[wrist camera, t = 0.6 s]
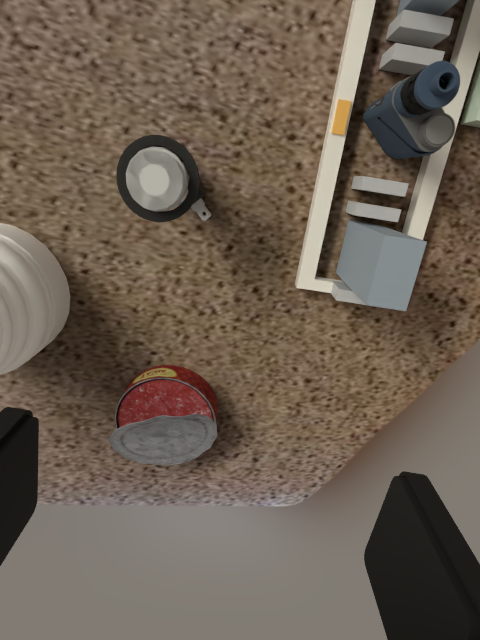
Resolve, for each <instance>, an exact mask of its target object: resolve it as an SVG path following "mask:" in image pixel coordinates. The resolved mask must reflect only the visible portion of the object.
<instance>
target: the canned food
mask: <svg viewBox="0 0 480 640" xmlns="http://www.w3.org/2000/svg"><path fill="white" fill-rule="evenodd" d="M216 420H217V401H216V397H215V394H214V392H213V390H212V388H211V387H210V386H209V384H208V383H207V382H206V381H205V380H204V379H203V378H202V377H201V376H200V375H198V374H196V373H195V372H193V371H191V370H189V369H186V368H184V367H179V366H174V365H161V366H155V367H152V368H149V369H146V370H145V371H143V372H141V373H140V374H138V375H137V376H136V377H135V378H134V379H133V380H132V381H131V382H130V384H129V385H128V387H127V389H126V391H125V392H124V394H123V396H122V397H121V399H120V400H119V403H118V405H117V408H116V413H115V423H116V428H117V429H116V430H114V432H113V433H112V435H111V437H110V438H109V441H110V443H111V445H112V447H113V450H115V451H117V452H118V453H120V454H121V455H122V456H123V457H125V458H127V459H131V460H134V461H137V462H139V463H142V464H155V465H175V464H181V463H185V462H188V461H191V460H192V459H194V458H196V457H198V456H200V455H201V454H202V453H203V452H205V451H206V450H208V449H209V448H211V446H212V444H213V442H214V440H215V439H216V437H217V424H216Z"/></svg>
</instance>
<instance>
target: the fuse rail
mask: <svg viewBox="0 0 480 640" xmlns="http://www.w3.org/2000/svg"><path fill="white" fill-rule="evenodd" d="M458 1H459V0H400V4H399V8H398V13H397V17H396V18H395V19H394V20H393V21H392V22H391V23H390V25H389V28H388V33H387V37H386V40H389V41H394V42H400V43H405V44H411V45H417V46H422V47H428V48H432V47H434V46H435V45H436V44H438V43H439V42H441V41H442V40H443V39H445V38H446V37H448V36H449V35H450V32H451V28H452V24H453V21H454V18H449V17H443V16H441V15H443V14H444V13H445V12H446V11H447V10H449V9H450V8H451V7H452V6H453V5H455V4H456V3H457V2H458ZM375 2H376V0H353V3H352V7H351V12H350V17H349V22H348V27H347V32H346V37H345V42H344V47H343V51H342V56H341V61H340V66H339V71H338V76H337V81H336V86H335V91H334V96H333V100H332V105H331V110H330V115H329V120H328V125H327V130H326V135H325V140H324V145H323V149H322V154H321V159H320V164H319V169H318V174H317V179H316V184H315V189H314V193H313V198H312V203H311V208H310V213H309V218H308V223H307V228H306V233H305V238H304V242H303V247H302V252H301V257H300V262H299V267H298V272H297V277H296V282H295V285H296V287H297V288H301V289H307V290H314V291H320V292H327V293H331V294H332V296H333V297H334V298H335V300H337V301H343V302H350V303H356V304H363V305H368V306H375V307H381V308H388V309H394V310H401V311H406V310H407V306H408V303H409V300H410V296H411V293H412V290H413V287H414V283H415V280H416V277H417V273H418V270H419V267H420V263H421V260H422V257H423V254H424V250H425V247H426V244H427V242H426V241H423V238H424V234H425V231H426V228H427V224H428V221H429V218H430V214H431V211H432V208H433V204H434V201H435V198H436V194H437V191H438V188H439V184H440V181H441V178H442V174H443V171H444V168H445V164H446V161H447V158H448V154H449V151H450V148H451V144H452V141H453V138H454V135H453V137H452V138H451V140H450V141H449V142H448V143H447V144H445V145H444V146H443V147H442V148H441V149H440V150H438V151H436V152H435V153H433V154H430V155H427V156H423V159H422V163H421V166H420V170H419V173H418V177H417V180H416V184H415V187H414V191H413V195H412V198H411V202H410V205H409V209H408V212H407V216H406V219H405V223H404V227H403V230H402V233H401V232H398V231H395V230H392V229H389V228H387V227H384V226H381V225H376V224H370V223H364V222H358V221H352V220H348V224H347V229H346V233H345V237H344V241H343V245H342V250H341V254H340V258H339V262H338V267H337V271H336V274H337V275H338V276H339V277H340V278H341V279H342V280H343V281H342V280H335V279H329V278H322V277H316V276H315V275H316V270H317V266H318V261H319V257H320V252H321V248H322V243H323V239H324V234H325V229H326V225H327V220H328V216H329V211H330V207H331V202H332V198H333V193H334V188H335V184H336V179H337V175H338V170H339V166H340V161H341V157H342V152H343V147H344V143H345V138H346V134H347V129H348V125H349V120H350V116H351V111H352V107H353V102H354V97H355V93H356V88H357V84H358V79H359V75H360V70H361V66H362V61H363V56H364V52H365V47H366V43H367V38H368V34H369V29H370V25H371V20H372V15H373V11H374V6H375ZM400 43H395V44H394V45H393V46H392V47H390V48H389V49H388V50H387V51H386V52H385V53H384V54H383V55H382V58H381V63H380V67H379V70H385V71H390V72H396V73H402V74H408V75H414V74H416V73H417V72H419V71H421V70H422V69H424V68H425V67H427V66H429V65H430V64H432V63H434V62H437V61H443V57H444V53H445V51H439V50H433V49H428V48H422V47H416V46H411V45H405V44H400ZM479 51H480V0H467V2H466V6H465V10H464V13H463V17H462V20H461V24H460V27H459V31H458V34H457V38H456V42H455V45H454V49H453V52H452V56H451V59H450V63H452V64H453V65H454V66H455V67H456V68H457V70H458V72H459V75H460V87H459V90H458V93H457V95H456V96H455V98H454V99H453V100H452V101H451V102H450V103H449V104H447V105H446V106H444V107H442V109H443V110H444V112H445V113H446V114H448V115H450V116H451V117H452V118H453V120H454V123H455V131H456V128H457V124H458V121H459V118H460V114H461V111H462V108H463V104H464V101H465V98H466V94H467V91H468V88H469V84H470V81H471V78H472V74H473V71H474V68H475V64H476V61H477V58H478V54H479ZM454 134H455V132H454ZM407 188H408V183H402V182H396V181H390V180H384V179H378V178H372V177H366V176H354V179H353V183H352V187H351V189H357V190H363V191H369V192H375V193H381V194H388V195H394V196H403V197H405V195H406V191H407ZM346 213H349V214H352V215H356V216H362V217H368V218H374V219H380V220H386V221H393V222H398V220H399V217H400V213H401V210H400V209H396V208H391V207H385V206H379V205H373V204H367V203H360V202H354V201H348V204H347V209H346Z"/></svg>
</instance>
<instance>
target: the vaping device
mask: <svg viewBox="0 0 480 640" xmlns="http://www.w3.org/2000/svg"><path fill="white" fill-rule="evenodd" d="M459 87H460V75H459V72H458V70H457V68H456V67H455V66H454V65H453V64H452V63H450V62H447V61H437V62H434V63H432V64H430V65H429V66H427V67H425V68H424V69H422V70H421V71H419V72H417V73H416V74H414V75H412V76H410V77H407V78H406V79H404V80H403V81H399V82H398V83H396V84H395V85H394V86H393V87H392V88H391V89H390V90H389V92H388V93H387V94H386V96H385V97H383V99H380V100H377V101H375V102H374V103H372V104H371V105H370V106H369V107H368V109H367V110H366V112H365V114H363V119H364V121H365V123H366V124H367V126H368V127H369V129H370V131H371V132H372V134H373V135H374V137H375V138H376V140H377V141H378V143H379V144H380V146H381V147H382V149H383V150H384V152H385V153H386V154H387V155H388V156H390V157H391V158H394V159H404V158H411V157H419V156H427V155H430V154H433V153H435V152H436V151H438V150H440V149H441V148H442V147H443V146H444V145H445V144H447V143H448V142H449V141H450V140H451V138H452V137H453V135H454V132H455V123H454V120H453V118H452V117H451V116H450V115H448V114H446V113H445V112H444V110H443V109H442V107H444V106H446V105H447V104H449V103H450V102H451V101H452V100H453V99H454V98H455V96H456V95H457V93H458V90H459Z"/></svg>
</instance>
